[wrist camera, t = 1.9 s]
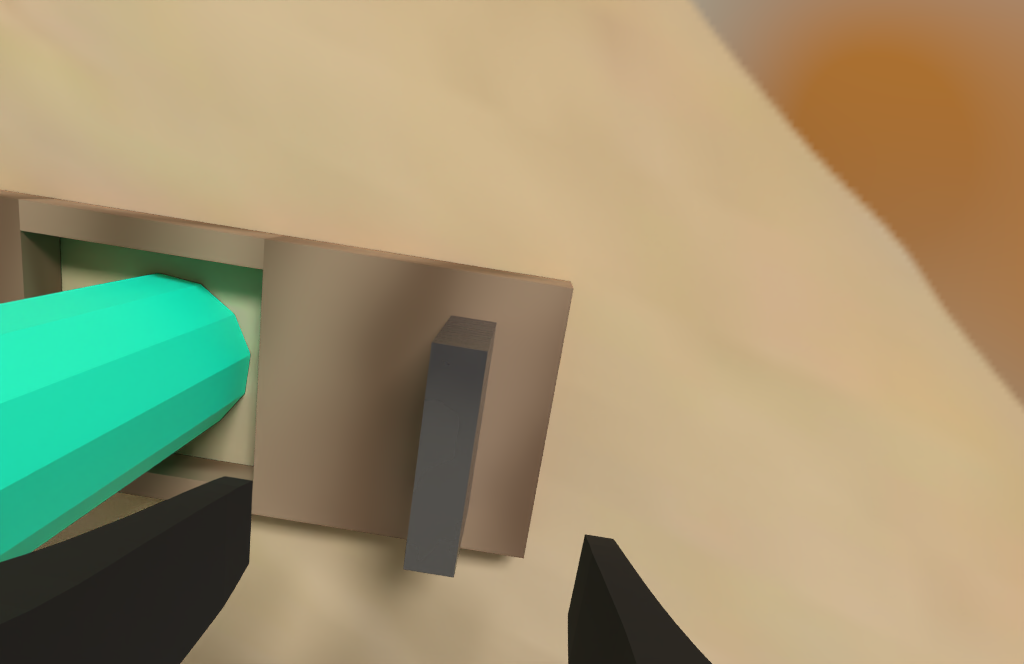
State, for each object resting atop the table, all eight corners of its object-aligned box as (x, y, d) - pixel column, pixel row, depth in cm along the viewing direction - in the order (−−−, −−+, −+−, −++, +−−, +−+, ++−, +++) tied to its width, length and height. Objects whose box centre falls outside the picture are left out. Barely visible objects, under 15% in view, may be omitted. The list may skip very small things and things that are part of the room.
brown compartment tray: (570, 281, 19) (582, 310, 14) (524, 533, 21) (520, 632, 17) (1, 189, 19) (-182, 187, 14) (18, 451, 21) (-133, 525, 17)
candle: (106, 428, 21) (-421, 711, 9) (76, 273, 20) (-588, 379, 8) (259, 430, 21) (-92, 723, 9) (240, 272, 19) (-203, 382, 8)
